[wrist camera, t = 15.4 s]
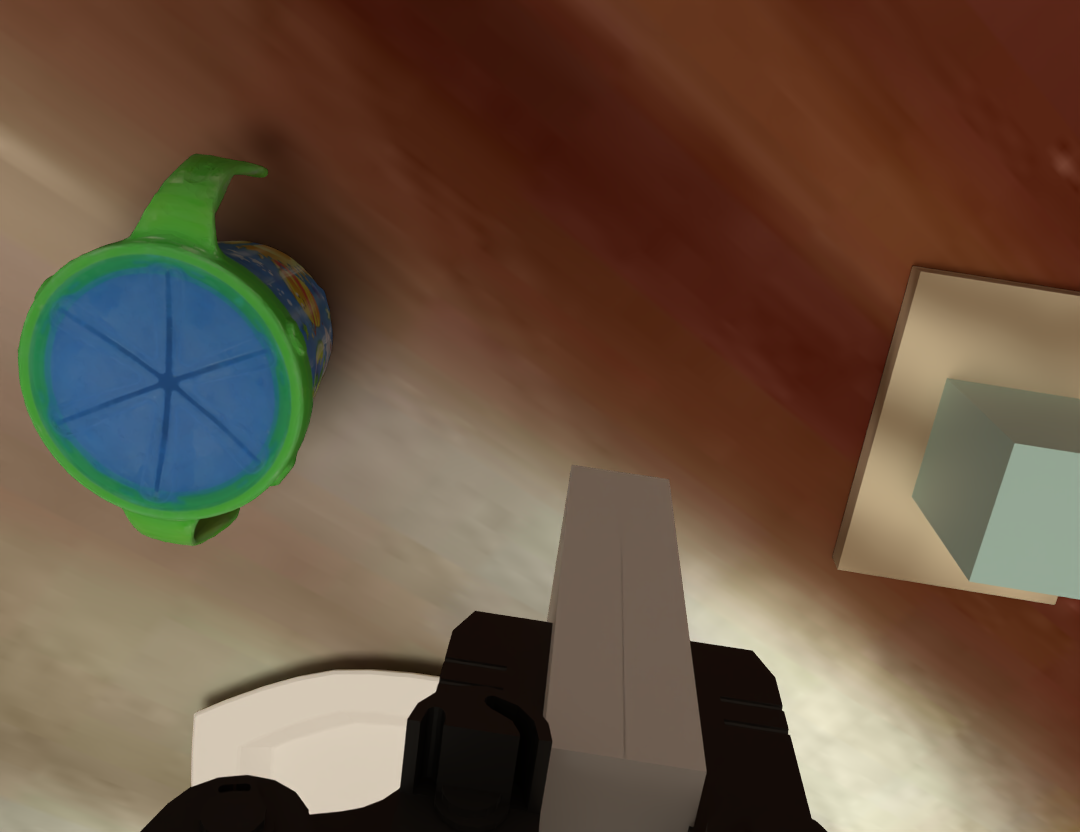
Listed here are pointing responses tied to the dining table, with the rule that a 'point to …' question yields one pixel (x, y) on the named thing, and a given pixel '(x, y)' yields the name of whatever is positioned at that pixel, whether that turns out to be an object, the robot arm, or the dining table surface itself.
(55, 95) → the dining table surface
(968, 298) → the stand
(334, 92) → the dining table surface
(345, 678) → the plate
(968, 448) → the grey-green block
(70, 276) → the snack cup
